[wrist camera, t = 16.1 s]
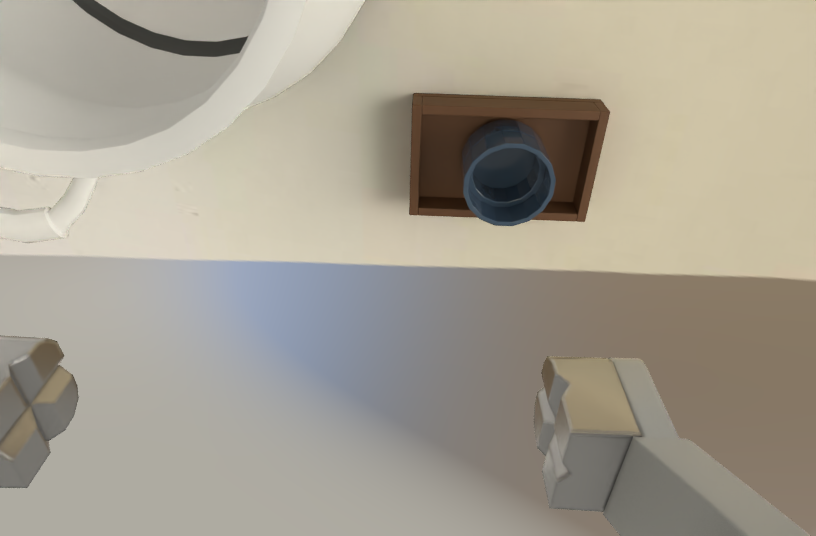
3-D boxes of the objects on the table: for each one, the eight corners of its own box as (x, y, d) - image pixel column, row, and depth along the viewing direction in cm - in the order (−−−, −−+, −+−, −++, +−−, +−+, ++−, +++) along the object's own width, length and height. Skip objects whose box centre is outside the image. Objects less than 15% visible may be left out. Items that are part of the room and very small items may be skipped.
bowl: (457, 192, 40) (460, 224, 36) (464, 116, 37) (467, 142, 33) (536, 195, 40) (547, 227, 36) (549, 118, 37) (562, 145, 33)
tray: (410, 199, 41) (409, 215, 39) (413, 92, 37) (412, 104, 35) (577, 205, 41) (584, 222, 39) (600, 99, 37) (610, 111, 35)
